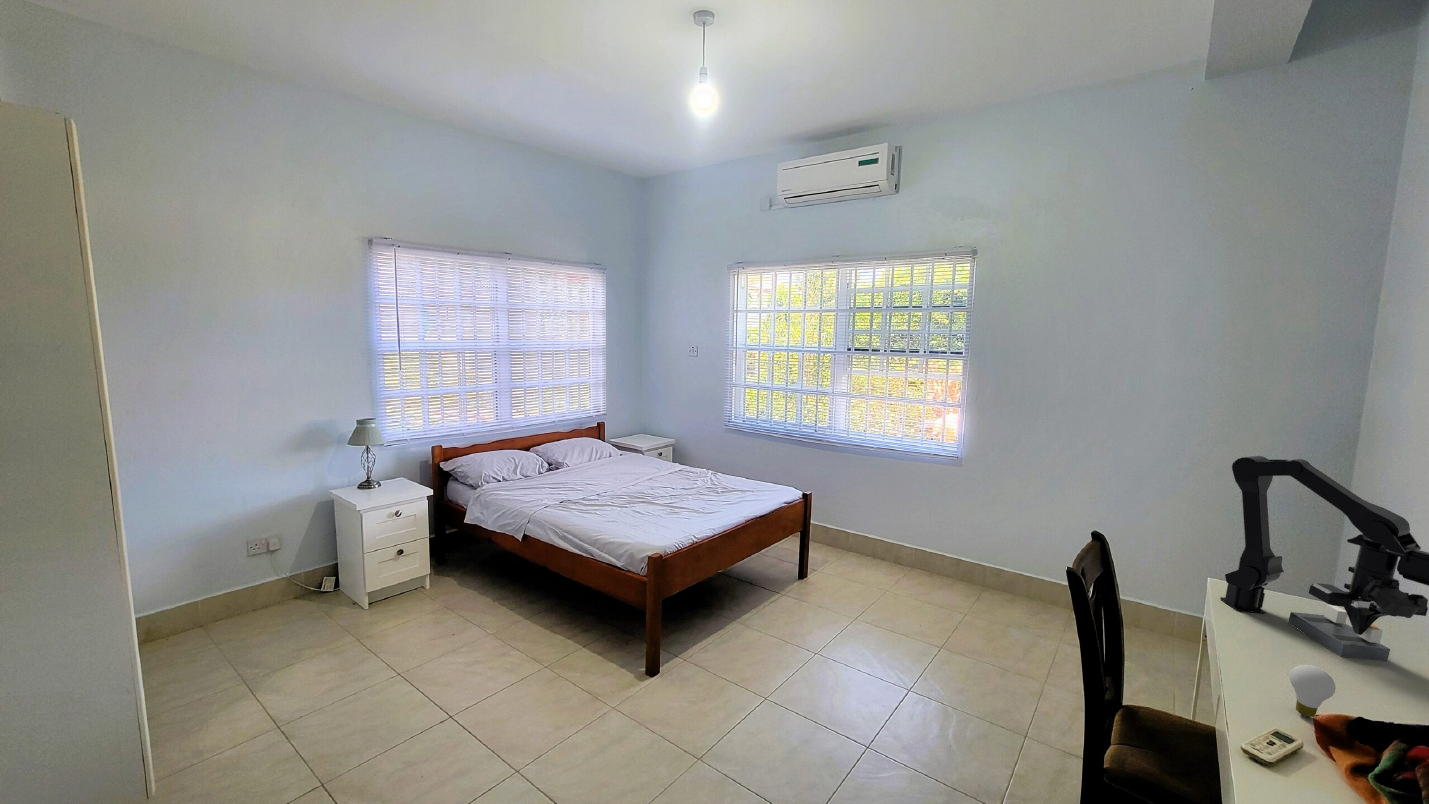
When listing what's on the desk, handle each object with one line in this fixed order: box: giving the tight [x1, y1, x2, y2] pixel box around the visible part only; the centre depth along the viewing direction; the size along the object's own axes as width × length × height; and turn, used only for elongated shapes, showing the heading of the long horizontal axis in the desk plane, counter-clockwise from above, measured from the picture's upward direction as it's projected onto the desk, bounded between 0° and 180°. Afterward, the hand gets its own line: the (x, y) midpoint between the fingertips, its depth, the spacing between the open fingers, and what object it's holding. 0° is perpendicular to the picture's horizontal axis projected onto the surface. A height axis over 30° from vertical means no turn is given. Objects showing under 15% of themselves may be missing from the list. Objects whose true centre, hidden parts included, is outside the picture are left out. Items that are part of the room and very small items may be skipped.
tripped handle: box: [1357, 623, 1383, 644], centre depth 128 cm, size 2×3×3 cm, turn 172°
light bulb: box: [1289, 664, 1336, 718], centre depth 107 cm, size 6×6×10 cm
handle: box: [1323, 604, 1348, 624], centre depth 136 cm, size 2×3×3 cm, turn 172°
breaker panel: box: [1288, 611, 1391, 662], centre depth 133 cm, size 9×14×3 cm, turn 172°
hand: (1357, 633), depth 129 cm, fingers closed
